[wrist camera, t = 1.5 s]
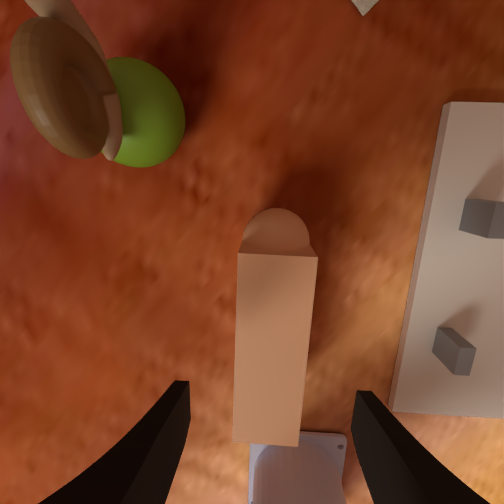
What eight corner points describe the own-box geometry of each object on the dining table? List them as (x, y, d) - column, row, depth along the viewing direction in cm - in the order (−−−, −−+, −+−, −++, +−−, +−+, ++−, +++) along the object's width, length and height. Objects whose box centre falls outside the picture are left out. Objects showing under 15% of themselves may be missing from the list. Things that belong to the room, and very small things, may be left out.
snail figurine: (185, 53, 17) (25, -191, 6) (200, 163, 19) (100, 146, 7) (99, 65, 18) (-212, -142, 6) (122, 172, 19) (-92, 168, 8)
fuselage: (289, 378, 23) (297, 446, 17) (240, 375, 23) (232, 441, 18) (305, 204, 20) (322, 217, 14) (247, 201, 20) (239, 213, 14)
